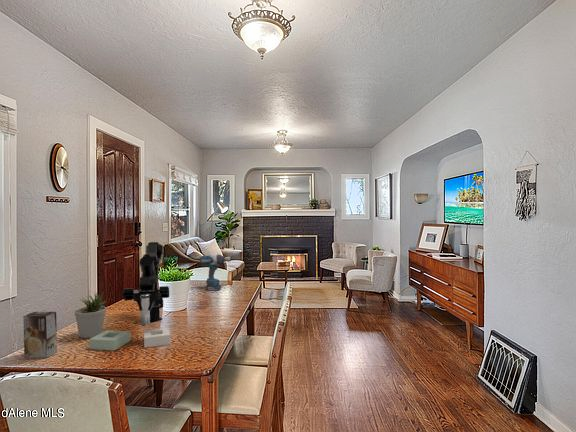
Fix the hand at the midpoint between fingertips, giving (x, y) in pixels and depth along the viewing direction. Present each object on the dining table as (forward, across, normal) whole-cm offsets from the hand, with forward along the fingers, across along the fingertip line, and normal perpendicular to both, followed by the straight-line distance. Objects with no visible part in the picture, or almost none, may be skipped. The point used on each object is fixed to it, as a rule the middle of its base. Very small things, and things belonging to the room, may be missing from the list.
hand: (145, 310), depth 150 cm
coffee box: (+12, -37, +7) cm, 40 cm away
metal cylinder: (+4, 0, +6) cm, 7 cm away
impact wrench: (-56, +34, +77) cm, 101 cm away
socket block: (+10, +5, +9) cm, 14 cm away
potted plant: (-1, -25, +20) cm, 32 cm away
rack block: (+9, -14, +10) cm, 19 cm away
